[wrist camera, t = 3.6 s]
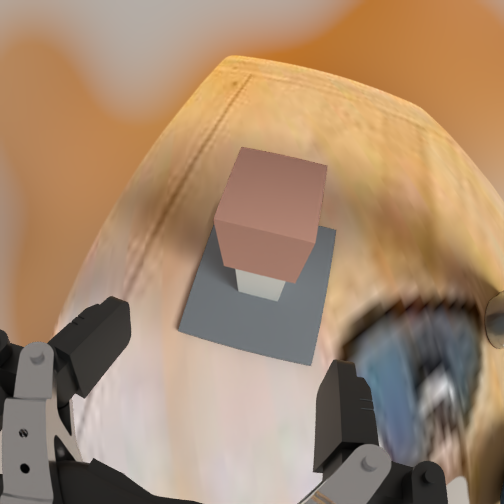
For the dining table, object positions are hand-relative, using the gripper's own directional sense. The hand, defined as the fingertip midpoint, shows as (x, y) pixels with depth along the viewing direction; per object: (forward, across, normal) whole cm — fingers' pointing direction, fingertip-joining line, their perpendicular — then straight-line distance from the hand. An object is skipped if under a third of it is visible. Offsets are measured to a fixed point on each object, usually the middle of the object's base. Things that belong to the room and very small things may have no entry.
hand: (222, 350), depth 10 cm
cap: (+16, 0, +1) cm, 16 cm away
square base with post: (+24, 0, +9) cm, 25 cm away
